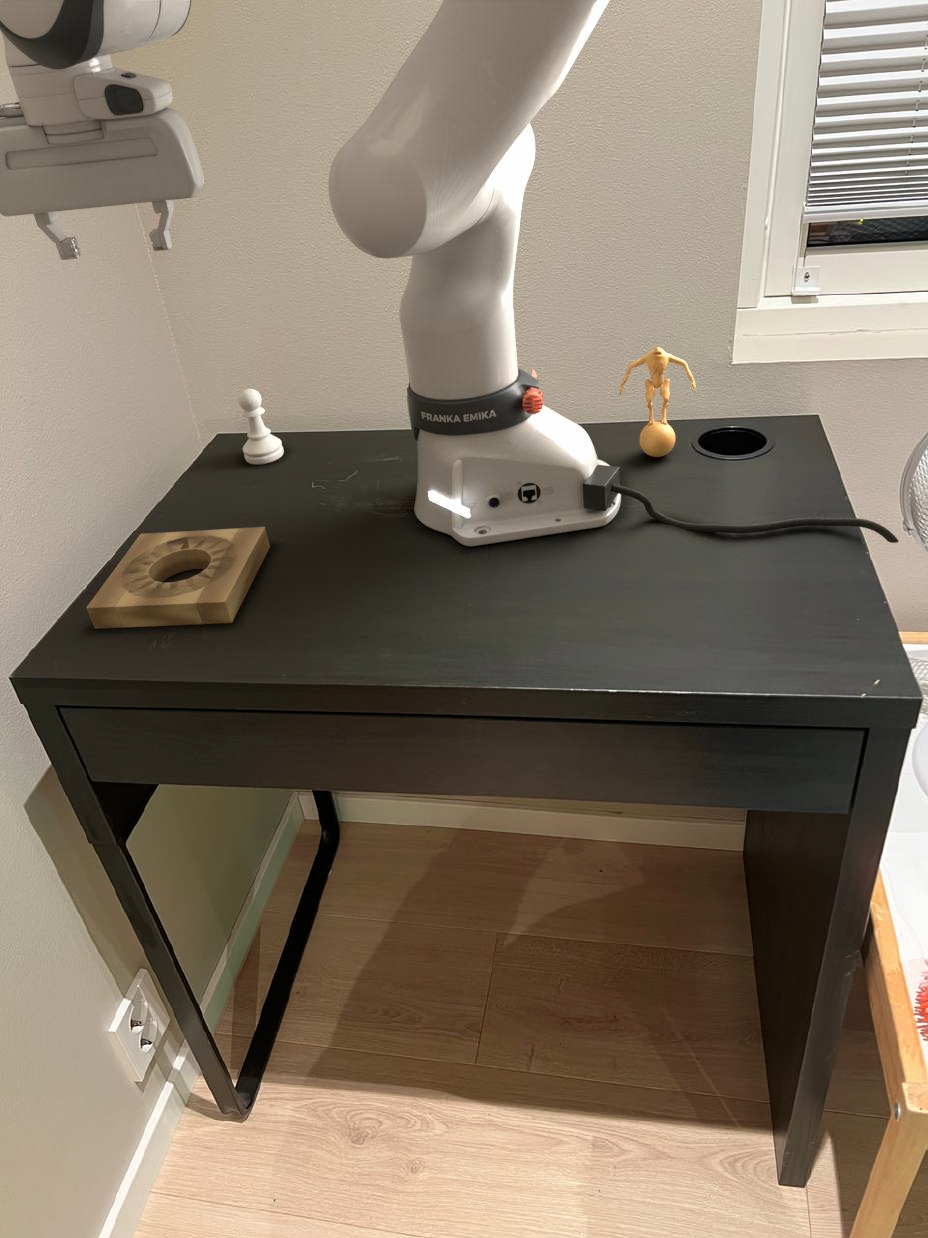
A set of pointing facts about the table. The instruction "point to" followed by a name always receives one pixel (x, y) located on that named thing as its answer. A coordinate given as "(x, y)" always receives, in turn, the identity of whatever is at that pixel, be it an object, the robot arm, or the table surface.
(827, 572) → the table surface
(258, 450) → the chess pawn
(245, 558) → the socket pad
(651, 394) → the figurine
